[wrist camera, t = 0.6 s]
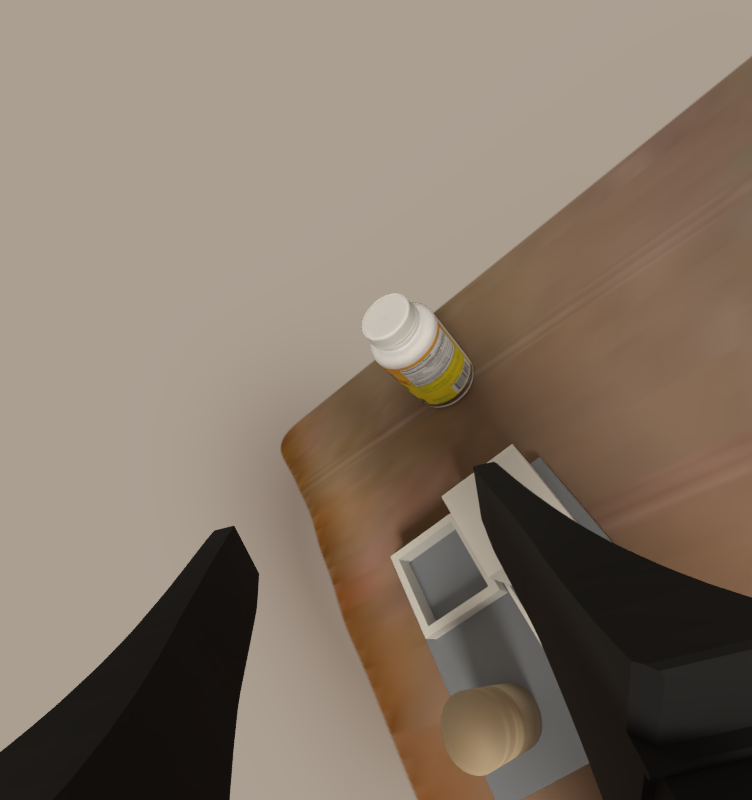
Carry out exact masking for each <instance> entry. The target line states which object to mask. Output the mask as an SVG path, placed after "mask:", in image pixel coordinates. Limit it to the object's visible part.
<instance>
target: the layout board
mask: <svg viewBox="0 0 752 800" xmlns="http://www.w3.org/2000/svg"><path fill="white" fill-rule="evenodd" d="M530 465H531V466H532V467H533V468H534V469H535V471H536V472H537V473H538V474H539V476H540V477H541V478H542V479H543V480H544V482H545V483H546V484H547V485H548V487H549V488H550V489H551V490H552V492H553V493H554V494H555V495H556V497H557V498H558V499H559V500H560V501H561V503H562V504H563V505H564V506H565V508H566V509H567V510H568V511H569V513H570V514H571V515H572V516H573V517H574V519H575V520H576V521H577V522H578V523H579V524H580V525H582V526H584V527H585V528H587V529H589V530H590V531H592V532H594V533H596V534H597V535H599V536H601V537H603V538H605V539H607V540H608V541H610V542H611V540H610V539H609V538H608V537H607V536H606V534H605V533H604V532H603V531H602V530H601V529H600V527H599V526H598V525H597V524H596V523H595V521H594V520H593V519H592V518H591V517H590V516H589V514H588V513H587V512H586V511H585V510H584V508H583V507H582V506H581V505H580V504H579V503H578V501H577V500H576V499H575V498H574V497H573V495H572V494H571V493H570V492H569V491H568V490H567V488H566V487H565V486H564V485H563V484H562V482H561V481H560V480H559V479H558V478H557V476H556V475H555V474H554V473H553V472H552V471H551V469H550V468H549V467H548V466H547V465H546V463H545V462H544V461H543V460H542V459H541V458H540V457H538V458H537V459H536V460H534V461H533V462H532V463H530ZM391 560H392V562H393V565H394V567H395V570H396V572H397V574H398V576H399V579H400V581H401V583H402V586H403V588H404V590H405V593H406V595H407V597H408V600H409V602H410V604H411V607H412V609H413V611H414V614H415V616H416V618H417V620H418V623H419V625H420V627H421V630H422V632H423V634H424V637H425V639H426V641H427V644H428V646H429V648H430V651H431V653H432V655H433V657H434V660H435V662H436V664H437V667H438V669H439V671H440V674H441V676H442V678H443V681H444V683H445V685H446V688H447V690H448V692H449V694H450V697H451V696H452V695H453V694H455V693H457V692H459V691H462V690H467V689H473V688H479V687H485V686H490V685H496V684H502V683H514V684H517V685H519V686H521V687H523V688H524V689H526V690H527V691H528V692H529V693H530V694H531V695H532V697H533V698H534V699H535V701H536V703H537V705H538V707H539V710H540V713H541V717H542V732H541V736H540V738H539V740H538V742H537V743H536V745H535V746H534V747H532V748H531V749H529V750H528V751H526V752H524V753H523V754H521V755H519V756H518V757H516V758H514V759H513V760H511V761H509V762H508V763H506V764H504V765H503V766H501V767H499V768H498V769H496V770H494V771H493V772H491V773H489V774H487V775H485V778H486V780H487V782H488V785H489V787H490V789H491V792H492V794H493V796H494V799H495V800H521V799H523V798H525V797H527V796H529V795H531V794H533V793H535V792H537V791H538V790H540V789H542V788H544V787H546V786H548V785H550V784H552V783H553V782H555V781H557V780H559V779H561V778H563V777H565V776H567V775H568V774H570V773H572V772H574V771H576V770H578V769H580V768H582V767H583V766H585V765H587V764H589V761H588V758H587V756H586V753H585V751H584V748H583V746H582V743H581V740H580V738H579V735H578V733H577V730H576V728H575V725H574V723H573V720H572V718H571V715H570V713H569V710H568V708H567V705H566V703H565V700H564V698H563V695H562V693H561V690H560V688H559V686H558V683H557V681H556V678H555V676H554V673H553V671H552V668H551V666H550V664H549V661H548V659H547V657H546V654H545V652H544V649H543V647H542V645H541V642H540V640H539V637H538V635H537V633H536V631H535V629H534V627H533V625H532V623H531V621H530V619H529V617H528V615H527V613H526V611H525V609H524V607H523V606H522V604H521V602H520V600H519V598H518V596H517V594H516V592H515V590H514V589H513V587H512V586H511V585H508V584H506V583H503V582H500V581H497V580H494V579H491V578H488V576H487V574H486V572H485V571H484V569H483V567H482V566H481V564H480V562H479V561H478V559H477V557H476V555H475V554H474V552H473V550H472V549H471V547H470V545H469V543H468V542H467V540H466V538H465V537H464V535H463V533H462V531H461V530H460V528H459V526H458V525H457V523H456V521H455V519H454V518H453V516H452V514H451V513H450V514H448V515H447V516H446V517H444V518H443V519H442V520H440V521H439V522H437V523H436V524H435V525H433V526H432V527H430V528H429V529H428V530H426V531H425V532H424V533H422V534H421V535H419V536H418V537H417V538H415V539H414V540H413V541H411V542H410V543H408V544H407V545H406V546H404V547H403V548H402V549H400V550H399V551H397V552H396V553H395V554H393V555H392V556H391Z"/></svg>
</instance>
